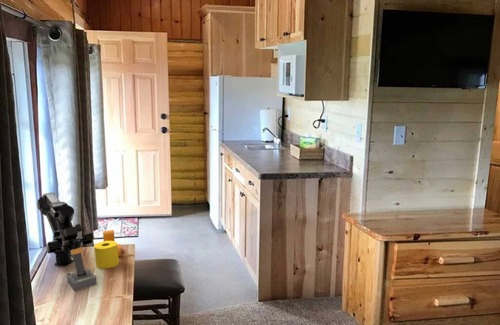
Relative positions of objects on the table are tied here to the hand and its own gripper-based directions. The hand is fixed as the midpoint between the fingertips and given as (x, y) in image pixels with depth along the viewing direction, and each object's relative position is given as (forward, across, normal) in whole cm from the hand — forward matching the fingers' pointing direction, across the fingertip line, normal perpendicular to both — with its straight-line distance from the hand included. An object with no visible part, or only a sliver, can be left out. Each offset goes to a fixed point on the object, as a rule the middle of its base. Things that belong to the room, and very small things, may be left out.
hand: (76, 260), depth 191 cm
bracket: (-6, +22, +19) cm, 29 cm away
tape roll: (+1, +15, +12) cm, 19 cm away
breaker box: (+10, 0, +2) cm, 10 cm away
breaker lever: (+7, 0, -1) cm, 7 cm away
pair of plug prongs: (+4, 0, +8) cm, 9 cm away
